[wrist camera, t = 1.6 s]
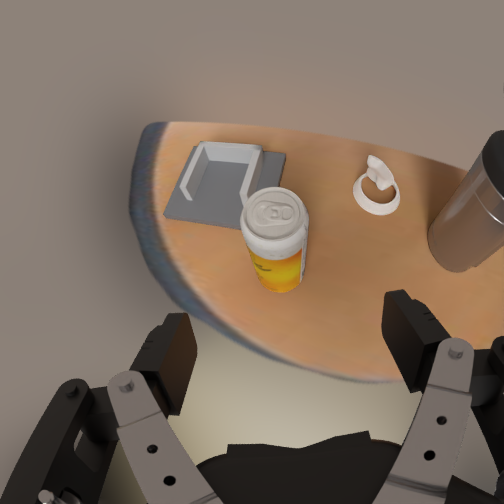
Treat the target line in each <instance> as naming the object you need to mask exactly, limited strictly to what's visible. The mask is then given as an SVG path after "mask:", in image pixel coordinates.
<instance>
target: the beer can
mask: <svg viewBox="0 0 504 504" xmlns="http://www.w3.org/2000/svg"><path fill="white" fill-rule="evenodd" d="M240 226H241V230H242V233H243V236H244V239H245V241H246V244H247V247H248V250H249V253H250V256H251V259H252V261H253V264H254V267H255V270H256V273H257V276H258V279H259V281H260V282H261V284H262V285H263V286H264V287H265V288H267V289H269V290H271V291H273V292H287V291H290V290H292V289H294V288H295V287H296V286H298V284H299V283H300V282H301V280H302V278H303V276H304V269H305V259H306V249H307V238H308V227H309V215H308V211H307V208H306V206H305V205H304V203H303V202H302V201H301V199H300V198H299V197H298V196H297V195H296V194H295V193H294V192H292V191H290V190H288V189H285V188H281V187H268V188H264V189H261V190H259V191H257V192H255V193H254V194H253V195H251V196H250V197H249V199H248V200H247V201H246V203H245V205H244V208H243V210H242V213H241V217H240Z"/></svg>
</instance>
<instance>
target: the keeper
mask: <svg viewBox="0 0 504 504" xmlns="http://www.w3.org/2000/svg"><path fill="white" fill-rule="evenodd" d="M285 160H286V154H284V153H276V152H267V151H263V148H262V145H251V144H238V143H224V142H204V141H200V143H199V145H198V146H194V147H193V149H192V151H191V153H190V155H189V157H188V160H187V162H186V164H185V166H184V168H183V170H182V172H181V175H180V177H179V179H178V181H177V183H176V186H175V188H174V190H173V192H172V195H171V197H170V199H169V202H168V204H167V206H166V209H165V211H164V213H163V215H164V216H165V217H166V218H169V219H175V220H182V221H188V222H195V223H201V224H208V225H214V226H221V227H227V228H233V229H239V230H241V226H240V217H241V213H242V210H243V208H244V205H245V203H246V201H247V200H248V199H249V197H250V196H251V195H253V194H254V193H255V192H257V191H259V190H261V189H264V188H268V187H279V184H280V180H281V176H282V172H283V168H284V164H285Z"/></svg>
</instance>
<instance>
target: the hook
mask: <svg viewBox="0 0 504 504" xmlns="http://www.w3.org/2000/svg"><path fill="white" fill-rule="evenodd" d="M367 164H368V166H369V167H368V169H367V173H365V174H363V175H361V176H360V177H359V178H358V179H357V180H356V181H355V183H354V186H353V194H354V197H355V200H356V201H357V203H358V204H359V205H360V206H361V207H362V208H363V209H364V210H366V211H368V212H370V213H372V214H376V215H386V214H390V213H392V212H393V211H395V210H396V208H397V207H398V205H399V202H400V193H399V189H398V186H397V184H396V183H395V181H394V177H393V174H392V173H391V171H390V170H389V169H388V167H387V166H386V165H385V163H384V162H383V161H382V160H380V159H379V158H377V157H375V156H373V155H369V156H368V159H367ZM367 176H368V177H369V178H370V179H371V180H372V181H374V182H375V183H376V185H377V187H378V189H380V190H385V189H386V188H388V187H390V186H391V185H393V187H394V188H395V190H396V196H395V198H394V200H393V201H391V202H389V203H386V204H380V203H376V202H373V201H371V200H370V199H368V198H367V197H366V196H365V194H364V193H363V191H362V188H361V182H362V179H363V178H364V177H367Z"/></svg>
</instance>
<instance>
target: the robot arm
mask: <svg viewBox="0 0 504 504" xmlns="http://www.w3.org/2000/svg"><path fill="white" fill-rule="evenodd" d="M428 243H429V247H430V250H431V252H432V254H433V256H434V257H435V259H436V260H437V261H438V263H439V264H440V265H441V266H443V267H444V268H446V269H447V270H450V271H452V272H463V271H466V270H467V269H469V268H470V267H477V266H478V265H479V264H481V263H482V262H483V261H485V260H486V259H487V258H489V257H490V256H491V255H492V254H494V253H495V252H496V251H497V250H499V249H500V248H501V247H502V246H504V130H500V131H497V132H495V133H493V134H492V135H491V137H490V138H489V139H488V141H487V143H486V145H485V146H484V148H483V150H482V151H481V153H480V154H479V156H478V158H477V159H476V161H475V163H474V164H473V166H472V167H471V169H470V170H469V172H468V173H467V175H466V176H465V178H464V179H463V181H462V182H461V184H460V185H459V187H458V188H457V190H456V191H455V192H454V194H453V195H452V197H451V198H450V199H449V201H448V202H447V204H446V205H445V206H444V208H443V209H442V210H441V212H440V213H439V214H438V216H437V217H436V218H435V220H434V221H433V222H432V224H431V226H430V228H429V231H428ZM381 328H382V335H383V338H384V340H385V342H386V344H387V346H388V348H389V350H390V352H391V354H392V356H393V358H394V360H395V362H396V364H397V366H398V368H399V370H400V372H401V374H402V376H403V379H404V381H405V383H406V385H407V387H408V389H409V391H410V393H414V392H418V391H421V392H422V394H423V395H422V398H421V400H420V403H419V406H418V408H417V411H416V413H415V416H414V418H413V421H412V423H411V426H410V428H409V430H408V433H407V435H406V437H405V439H404V441H403V443H402V446H401V445H399V444H396V443H393V442H390V441H384V440H376V439H371V438H370V435H369V431H364V432H358V433H353V434H347V435H342V436H335V437H332V438H330V439H327V440H324V441H322V442H319V443H316V444H313V445H310V446H307V447H303V448H289V447H281V446H274V445H267V444H228V447H227V453H226V454H222V455H218V456H215V457H212V458H210V459H207V460H205V461H203V462H201V463H200V464H198V465H196V466H195V464H194V463H193V462H192V460H191V459H190V457H189V455H188V454H187V452H186V451H185V449H184V448H183V446H182V445H181V443H180V441H179V440H178V438H177V437H176V435H175V433H174V432H173V430H172V428H171V427H170V425H169V423H168V421H167V419H168V416H169V415H177V416H179V414H180V411H181V408H182V405H183V401H184V398H185V394H186V391H187V388H188V384H189V381H190V378H191V374H192V371H193V368H194V364H195V361H196V358H197V344H196V340H195V336H194V333H193V329H192V326H191V323H190V319H189V316H188V314H187V313H169V314H168V315H167V317H166V319H165V320H164V322H163V324H162V325H161V326H157V327H156V328H154V329H153V330H152V331H151V332H150V333H149V335H148V336H147V338H146V340H145V343H143V345H142V347H141V349H140V351H139V353H138V354H137V356H136V358H135V360H134V362H133V364H132V365H131V367H130V369H129V371H124V372H121V373H119V374H117V375H115V376H114V377H113V378H112V379H111V380H110V381H109V383H108V386H106V387H99V388H93V389H90V388H89V386H88V384H87V383H86V382H85V381H84V380H82V379H71V380H69V381H67V382H65V383H63V384H62V385H61V386H60V387H59V389H58V391H57V392H56V394H55V395H54V397H53V398H52V400H51V402H50V403H49V405H48V407H47V409H46V410H45V412H44V414H43V416H42V417H41V419H40V421H39V422H38V424H37V426H36V428H35V430H34V431H33V433H32V435H31V437H30V439H29V441H28V443H27V444H26V446H25V448H24V450H23V452H22V454H21V456H20V458H19V460H18V462H17V464H16V466H15V468H14V470H13V472H12V474H11V476H10V479H9V481H8V483H7V485H6V487H5V490H4V492H3V494H2V497H1V499H0V504H98V501H99V498H100V494H101V491H102V488H103V485H104V482H105V478H106V475H107V472H108V469H109V466H110V463H111V460H112V457H113V454H114V451H115V448H116V445H117V442H118V440H120V441H121V443H122V446H123V449H124V451H125V454H126V456H127V459H128V461H129V463H130V465H131V468H132V470H133V472H134V475H135V477H136V479H137V481H138V483H139V485H140V488H141V490H142V492H143V494H144V496H145V498H146V500H147V502H148V503H147V504H504V394H503V393H504V336H500V337H497V338H496V339H495V340H494V341H493V343H492V346H491V349H480V350H474V349H473V347H472V346H471V345H470V344H469V343H468V342H467V341H465V340H463V339H460V338H451V336H450V335H449V334H448V332H447V331H446V330H445V329H444V327H443V326H442V325H441V323H440V322H439V321H438V320H437V319H436V317H435V316H434V315H433V314H432V313H431V311H430V310H429V309H428V307H427V306H426V305H425V304H423V303H422V302H420V301H418V300H416V299H414V300H412V299H411V298H410V296H409V295H408V294H407V293H406V291H405V290H403V289H402V290H396V291H389V292H386V293H385V296H384V306H383V315H382V324H381ZM470 407H471V409H472V411H473V413H474V415H475V417H476V419H477V422H478V424H479V426H480V428H481V430H482V433H483V435H484V437H485V439H486V442H487V444H488V447H489V449H490V452H491V454H492V457H493V459H494V461H495V464H496V467H497V470H498V472H499V477H498V479H497V482H496V490H495V492H494V496H493V495H491V494H489V493H487V492H485V491H483V490H481V489H479V488H477V487H475V486H473V485H471V484H469V483H467V482H465V481H463V480H461V479H459V478H458V477H456V476H454V475H452V473H453V470H454V467H455V464H456V461H457V458H458V454H459V451H460V448H461V444H462V441H463V437H464V433H465V429H466V425H467V420H468V416H469V411H470ZM80 430H81V431H82V432H83V434H82V437H81V439H80V441H79V443H78V446H77V448H76V450H75V451H74V442H75V440H76V438H77V435H78V433H79V431H80Z"/></svg>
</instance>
